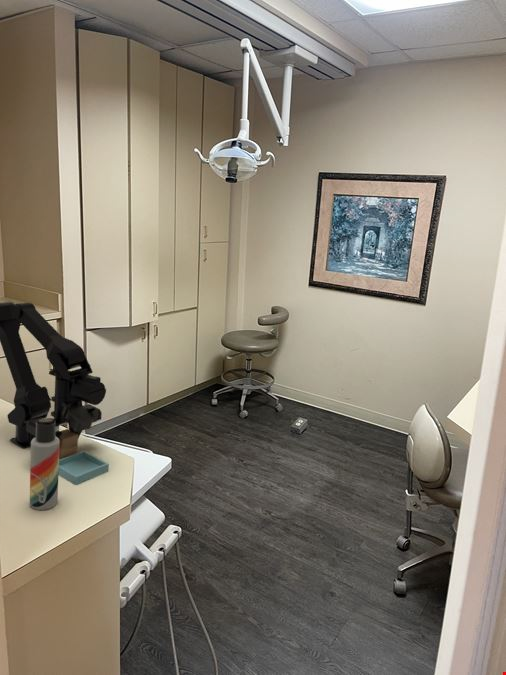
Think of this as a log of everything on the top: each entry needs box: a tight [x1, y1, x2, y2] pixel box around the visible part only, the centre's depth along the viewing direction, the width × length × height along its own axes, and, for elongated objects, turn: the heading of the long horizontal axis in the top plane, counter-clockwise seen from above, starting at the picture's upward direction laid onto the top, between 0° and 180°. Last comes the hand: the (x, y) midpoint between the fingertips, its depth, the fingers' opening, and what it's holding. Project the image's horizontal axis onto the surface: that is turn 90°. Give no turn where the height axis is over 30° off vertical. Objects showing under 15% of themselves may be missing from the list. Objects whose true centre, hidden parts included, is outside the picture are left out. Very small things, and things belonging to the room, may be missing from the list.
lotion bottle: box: [29, 417, 60, 511], centre depth 108 cm, size 6×6×20 cm
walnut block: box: [59, 428, 79, 460], centre depth 130 cm, size 4×4×6 cm
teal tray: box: [58, 450, 110, 486], centre depth 125 cm, size 10×10×2 cm
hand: (64, 450), depth 131 cm, fingers closed on walnut block, 4 cm apart
